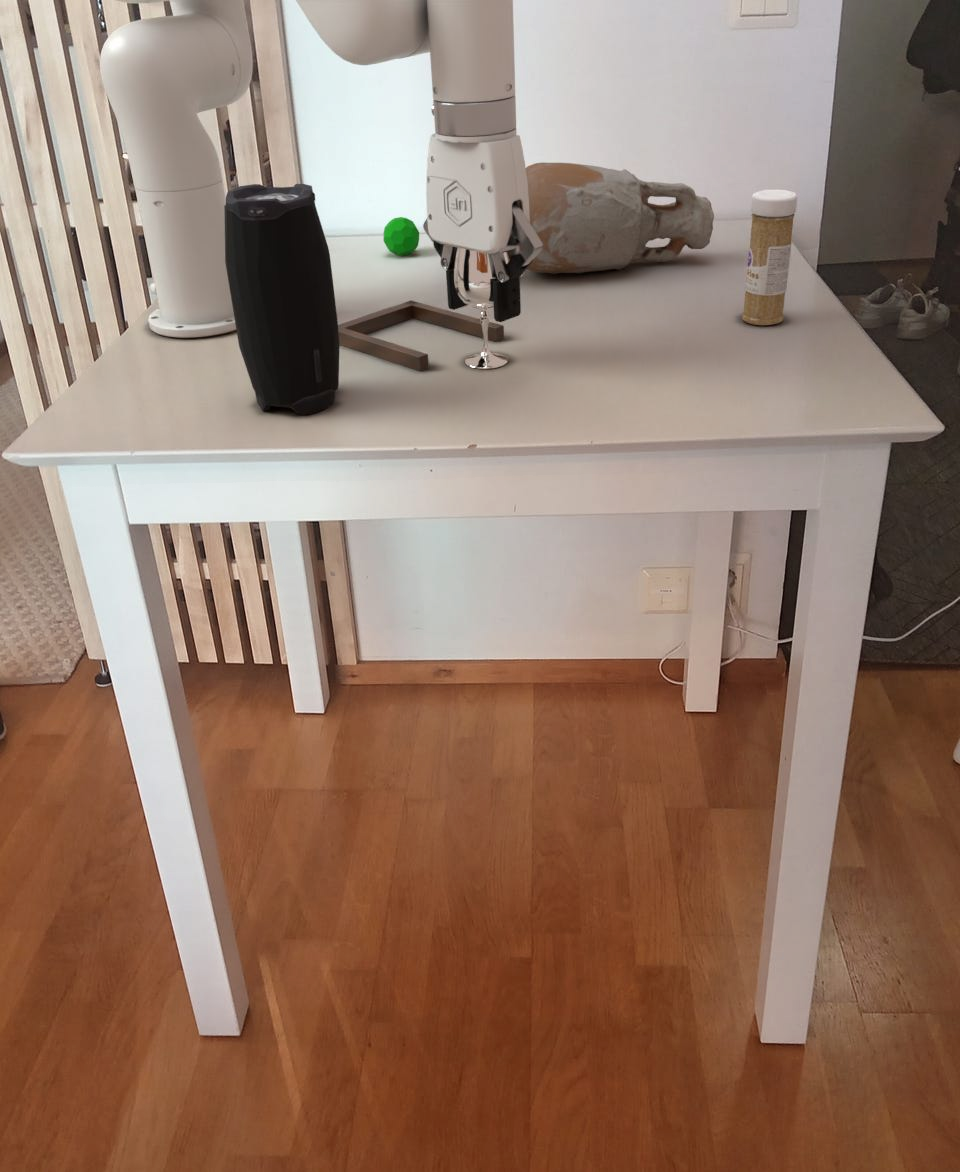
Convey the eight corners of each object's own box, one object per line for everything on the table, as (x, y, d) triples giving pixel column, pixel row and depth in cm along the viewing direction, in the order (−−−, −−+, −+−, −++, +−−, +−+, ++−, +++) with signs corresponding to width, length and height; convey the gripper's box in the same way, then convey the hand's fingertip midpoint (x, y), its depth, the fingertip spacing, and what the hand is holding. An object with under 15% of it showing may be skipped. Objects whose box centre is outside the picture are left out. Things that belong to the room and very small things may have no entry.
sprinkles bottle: (734, 316, 119) (744, 190, 112) (772, 311, 120) (784, 186, 113) (753, 329, 115) (765, 199, 108) (791, 324, 116) (806, 195, 109)
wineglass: (508, 372, 108) (504, 251, 101) (453, 370, 109) (445, 250, 102) (518, 352, 112) (515, 235, 106) (465, 351, 114) (458, 235, 107)
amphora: (454, 165, 134) (688, 103, 133) (480, 280, 145) (697, 223, 144) (467, 211, 124) (721, 144, 123) (495, 330, 135) (727, 270, 134)
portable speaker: (243, 394, 106) (207, 187, 95) (335, 379, 108) (310, 175, 98) (258, 425, 99) (221, 206, 89) (356, 408, 101) (332, 193, 91)
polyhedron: (423, 249, 150) (421, 214, 147) (417, 258, 145) (414, 222, 143) (389, 249, 150) (385, 214, 148) (381, 259, 146) (377, 223, 144)
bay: (328, 341, 118) (327, 327, 117) (412, 312, 125) (411, 300, 125) (420, 371, 109) (419, 357, 108) (504, 338, 116) (503, 325, 115)
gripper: (383, 118, 101) (399, 306, 111) (515, 133, 91) (521, 339, 100) (440, 107, 106) (452, 288, 115) (573, 120, 95) (573, 319, 105)
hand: (484, 310), depth 108 cm, fingers closed on wineglass, 5 cm apart
